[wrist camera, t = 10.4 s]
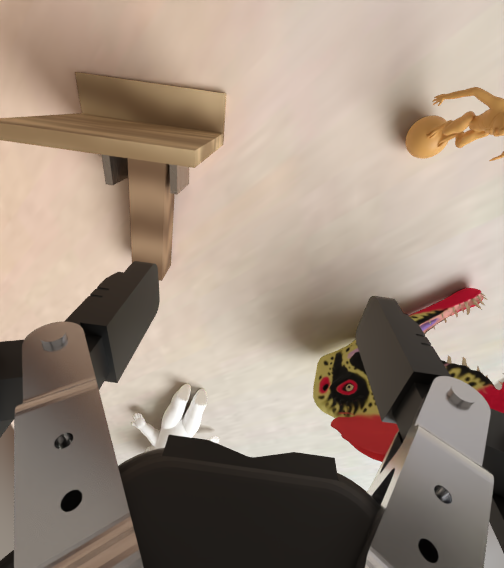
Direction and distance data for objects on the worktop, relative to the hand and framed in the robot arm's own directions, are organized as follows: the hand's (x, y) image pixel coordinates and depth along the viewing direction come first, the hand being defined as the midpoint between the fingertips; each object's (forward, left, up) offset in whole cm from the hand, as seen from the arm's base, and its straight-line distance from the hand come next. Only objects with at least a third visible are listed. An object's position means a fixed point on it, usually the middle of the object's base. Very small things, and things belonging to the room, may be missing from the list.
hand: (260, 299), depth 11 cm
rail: (+8, -14, -27) cm, 32 cm away
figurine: (-6, +16, -28) cm, 33 cm away
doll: (+57, -12, -29) cm, 65 cm away
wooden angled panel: (-4, -14, -28) cm, 31 cm away
